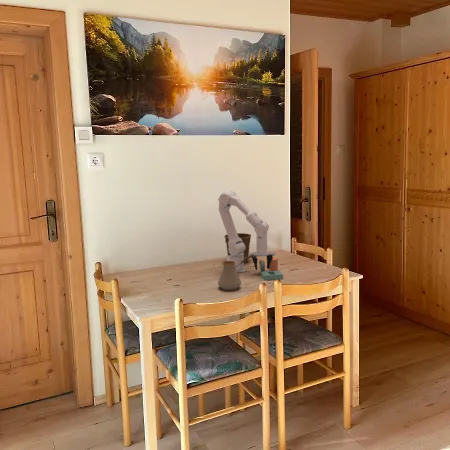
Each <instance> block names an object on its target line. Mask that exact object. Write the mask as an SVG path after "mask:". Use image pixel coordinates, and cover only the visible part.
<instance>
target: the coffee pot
mask: <svg viewBox="0 0 450 450" xmlns="http://www.w3.org/2000/svg"><path fill="white" fill-rule="evenodd" d="M253 255H254V254H252V255H251V256H249V257H247V258H245V259H244V260H243V261H241V262H240V263H239V264H237V265H236V266H235V264H236V262H234V261H227V260H226V261H225V260H224V261H222V265H223V269H222V271H221V273H220V277H219V278H218V281H217V285H218V287H220V288H221V289H222V290H224V291H235V290H237V289H238V288H239V287H240V286H241V284H242V280H241V278H240V276H239V274H238V272H237V271H236V269H235V268H236V267H237V266H239V265H240V264H242V263H243V262H245V261H247V260H248V259H252V258H251V257H252V256H253ZM253 257H254V256H253ZM254 258H255V257H254ZM248 261H249V260H248ZM245 263H246V262H245Z"/></svg>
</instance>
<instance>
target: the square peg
mask: <svg viewBox="0 0 450 450" xmlns="http://www.w3.org/2000/svg"><path fill="white" fill-rule="evenodd" d="M278 262H279V260H278V258H276V257H273V259H272V261H271V263H270V266H269V269H268V271H279V269H278V267H279V266H278V264H279V263H278Z"/></svg>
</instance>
